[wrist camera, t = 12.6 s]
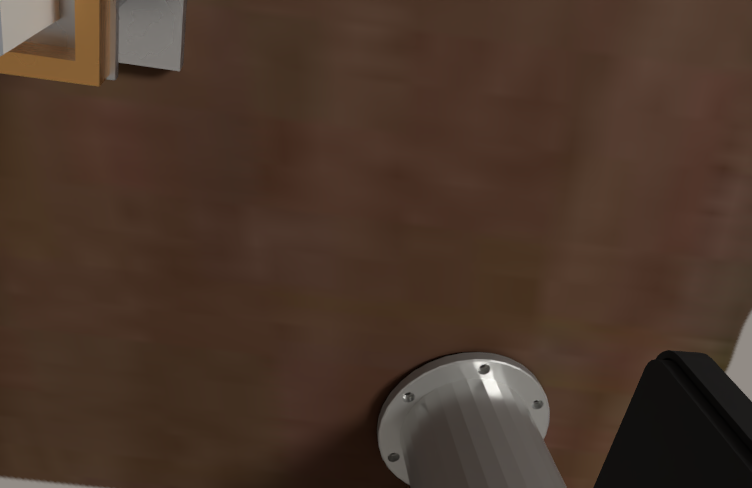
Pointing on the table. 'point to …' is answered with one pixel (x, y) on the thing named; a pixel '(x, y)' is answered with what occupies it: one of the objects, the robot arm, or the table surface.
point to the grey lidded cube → (24, 20)
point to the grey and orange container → (102, 41)
